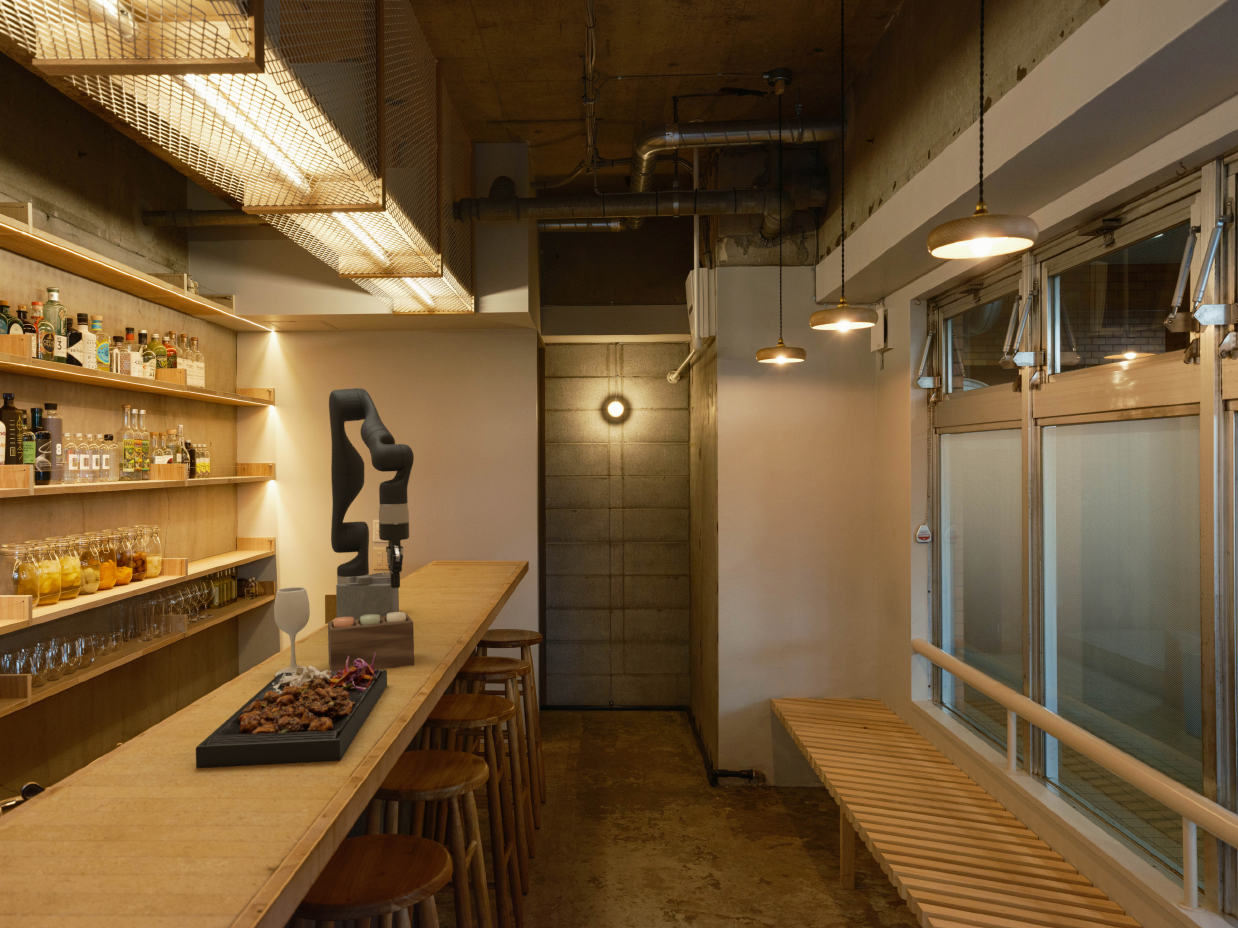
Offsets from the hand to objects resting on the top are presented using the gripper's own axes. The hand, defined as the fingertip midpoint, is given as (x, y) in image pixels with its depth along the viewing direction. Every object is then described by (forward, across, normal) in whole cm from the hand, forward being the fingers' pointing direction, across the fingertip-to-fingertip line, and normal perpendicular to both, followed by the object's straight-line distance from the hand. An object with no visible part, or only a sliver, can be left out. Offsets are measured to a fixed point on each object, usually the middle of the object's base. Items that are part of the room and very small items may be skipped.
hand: (395, 587), depth 208 cm
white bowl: (+20, 0, -25) cm, 32 cm away
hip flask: (+20, -20, -6) cm, 28 cm away
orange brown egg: (+10, 0, -13) cm, 17 cm away
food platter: (+20, +38, -24) cm, 49 cm away
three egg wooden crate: (+19, 0, -6) cm, 20 cm away
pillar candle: (+19, -60, +4) cm, 63 cm away
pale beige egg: (+10, 0, 0) cm, 10 cm away
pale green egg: (+10, 0, -6) cm, 12 cm away
